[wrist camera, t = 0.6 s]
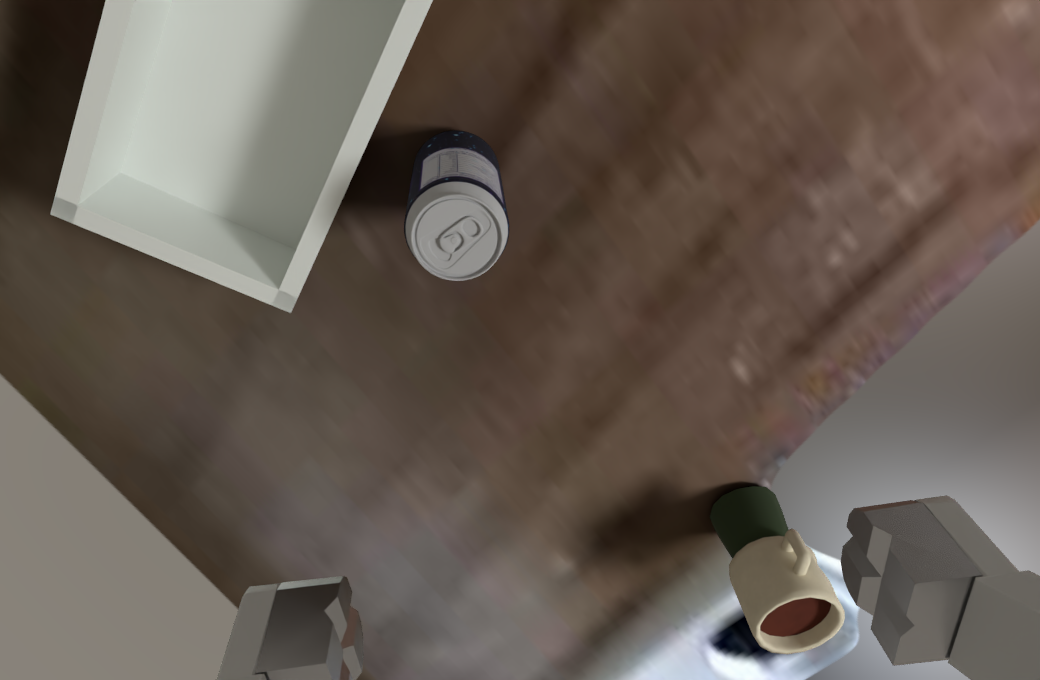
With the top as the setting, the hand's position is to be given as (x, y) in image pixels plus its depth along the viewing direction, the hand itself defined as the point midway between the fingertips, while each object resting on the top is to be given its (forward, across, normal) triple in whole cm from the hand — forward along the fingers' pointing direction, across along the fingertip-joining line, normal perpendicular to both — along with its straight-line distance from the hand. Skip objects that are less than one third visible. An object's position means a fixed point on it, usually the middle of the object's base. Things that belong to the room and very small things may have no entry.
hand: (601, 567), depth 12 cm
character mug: (+40, -19, +39) cm, 59 cm away
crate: (+40, +13, -2) cm, 42 cm away
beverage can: (+40, +3, +5) cm, 40 cm away
